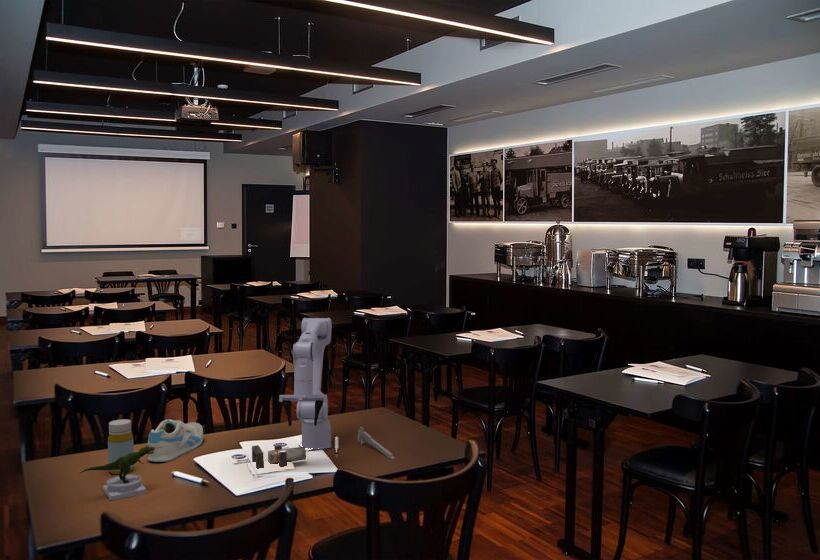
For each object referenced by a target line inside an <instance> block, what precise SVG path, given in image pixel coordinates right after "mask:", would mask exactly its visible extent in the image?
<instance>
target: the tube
mask: <svg viewBox="0 0 820 560" xmlns="http://www.w3.org/2000/svg"><path fill="white" fill-rule="evenodd" d="M283 451H286V452H287V462H292V463H293V462H299V461H305V460H306V459H307V451H306V450H305V447H300V446H297V447H289V448H282V449H281V450H275V449H274V450H269V451H268V452H267V460H268V462H269V463H270V464H278V463H279V452H283Z"/></svg>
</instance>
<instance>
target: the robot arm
mask: <svg viewBox="0 0 820 560" xmlns="http://www.w3.org/2000/svg"><path fill="white" fill-rule="evenodd" d="M300 326H301V335H300V337H299V339H298V341H296V342H295V343H293V347H292V358H293V359H292V360H293V361H292V362H293V363H292V364H293V367H294V375H293V377H294V379H293V380H294V381H293V384H294V385H293V394H279V396H278V397H279V398H278V402H280V403H282V407H283V409H284V412H285V413H286V418H287V422H288V427H291V426H292V423H293V420H292V407H293V405H292V404H293V403H292V402H297V403H296V418H297V419H298V420H299V421H300V423H301V443H302V446H303V447H305V448H308V449H309V448H310V449H311V448H313V449H317V450H322V449H323V450H324V449H330V448H332V427H331V421H330V420H329V419H328V414H329V403H328V402H329V399H328V394H324V393H323V392H322V391H321V390H322V389H321V388H322V387H321V386H322V378H323V377H322V375H323V361H324V351H325V349H326V346H328V345H329V344H330V343H331V340H332V329H333V328H332V319H331V318H330V317H327V318H325V317H321V318H320V317H303V318H302V321H301V325H300ZM318 448H319V449H318Z"/></svg>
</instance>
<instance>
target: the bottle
mask: <svg viewBox="0 0 820 560" xmlns="http://www.w3.org/2000/svg"><path fill="white" fill-rule="evenodd" d="M108 433H109V434H108V437H107V457H108V458H107V459H108V464H109V463H112V462H114V461H116V460H117V459H118V458H120V457H123V456H126V455H127V454H129V453H133V452H134V449H135V447H134V435H133V432H132V420H131V419H126V418H125V419H124V418H123V419H121V418H120V419H116V420H115V419H114V420H112V421H109V422H108ZM134 468H135V464H134V465H131V466H130V471H129V473H131V472H132V471H133V470H134ZM108 472H109V473H111V474H112V475H119V473H120V470H108ZM123 473H124V472H123ZM123 473H122V475H123Z"/></svg>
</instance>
